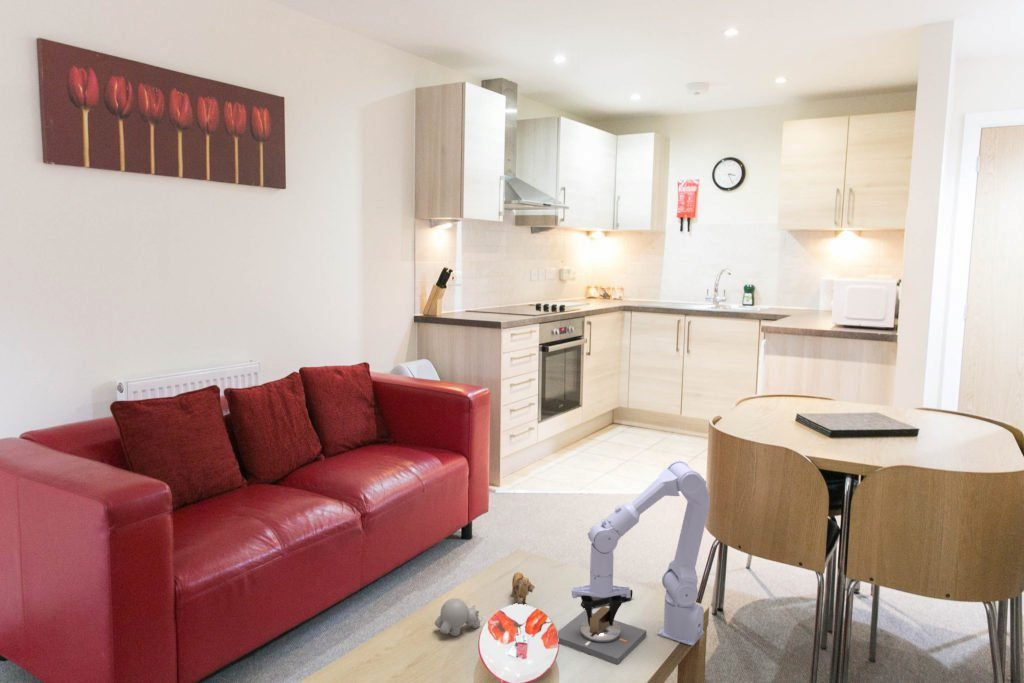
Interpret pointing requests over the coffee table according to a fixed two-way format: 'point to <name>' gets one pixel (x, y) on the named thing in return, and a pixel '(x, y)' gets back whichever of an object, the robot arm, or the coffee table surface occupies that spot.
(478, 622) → the chubby cartoon animal
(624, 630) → the dial base
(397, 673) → the coffee table surface
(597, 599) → the electric trimmer
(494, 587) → the coffee table surface
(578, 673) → the coffee table surface
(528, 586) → the lion figurine
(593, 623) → the dial
